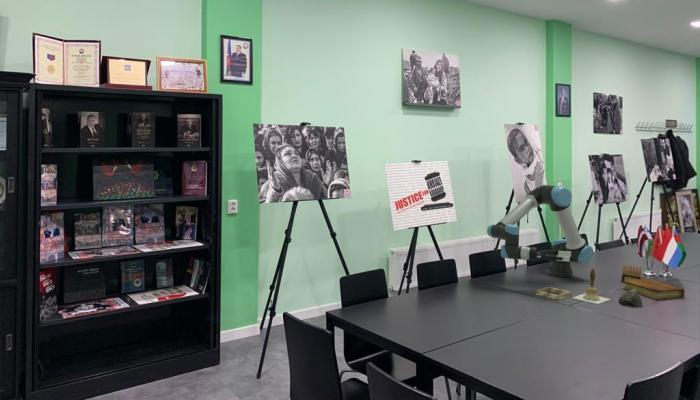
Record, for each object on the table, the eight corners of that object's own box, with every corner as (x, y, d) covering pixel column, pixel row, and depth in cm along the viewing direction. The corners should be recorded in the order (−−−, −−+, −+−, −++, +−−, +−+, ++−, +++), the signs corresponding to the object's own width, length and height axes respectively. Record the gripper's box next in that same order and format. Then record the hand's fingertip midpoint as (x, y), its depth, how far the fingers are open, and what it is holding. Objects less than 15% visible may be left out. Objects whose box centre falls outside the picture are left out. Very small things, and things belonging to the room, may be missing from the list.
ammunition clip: (641, 285, 303) (642, 265, 301) (640, 285, 301) (641, 265, 300) (622, 281, 310) (623, 262, 309) (621, 282, 309) (622, 263, 308)
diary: (684, 299, 276) (684, 288, 275) (656, 301, 271) (657, 290, 270) (648, 287, 298) (649, 278, 297) (622, 289, 293) (623, 280, 292)
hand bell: (581, 295, 276) (583, 267, 275) (598, 297, 274) (599, 268, 273) (584, 299, 268) (585, 270, 267) (601, 301, 266) (602, 271, 265)
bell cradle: (535, 295, 279) (535, 290, 279) (548, 291, 287) (549, 286, 287) (558, 300, 268) (558, 296, 268) (571, 296, 277) (571, 291, 276)
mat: (572, 298, 273) (572, 297, 273) (585, 294, 281) (585, 293, 281) (598, 304, 262) (598, 303, 262) (610, 300, 270) (610, 299, 270)
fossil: (613, 299, 269) (622, 283, 268) (627, 307, 269) (637, 291, 269) (624, 305, 258) (634, 288, 257) (639, 313, 258) (649, 296, 258)
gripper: (531, 255, 298) (571, 258, 289) (526, 264, 276) (568, 268, 266) (532, 243, 297) (571, 245, 288) (526, 251, 275) (569, 254, 266)
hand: (570, 256), depth 277 cm, fingers open, 13 cm apart
